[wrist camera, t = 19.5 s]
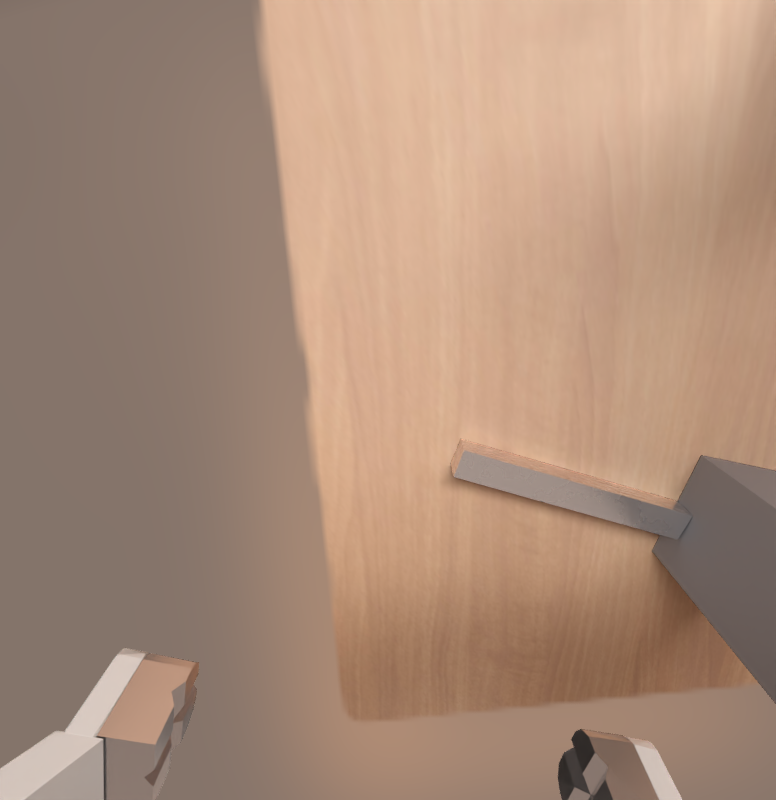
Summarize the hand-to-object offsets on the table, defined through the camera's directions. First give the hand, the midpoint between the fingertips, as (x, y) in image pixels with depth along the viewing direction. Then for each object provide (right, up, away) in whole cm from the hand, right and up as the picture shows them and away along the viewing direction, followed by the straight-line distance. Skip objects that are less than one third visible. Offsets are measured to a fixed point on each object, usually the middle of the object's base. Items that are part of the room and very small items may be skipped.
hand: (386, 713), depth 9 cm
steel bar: (+18, -3, +34) cm, 39 cm away
